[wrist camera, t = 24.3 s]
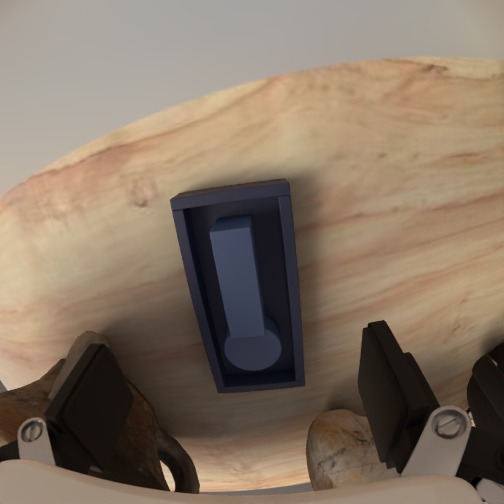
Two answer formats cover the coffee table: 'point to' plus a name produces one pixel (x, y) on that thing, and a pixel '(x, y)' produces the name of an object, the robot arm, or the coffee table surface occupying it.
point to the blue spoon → (243, 295)
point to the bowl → (130, 441)
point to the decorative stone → (343, 452)
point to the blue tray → (270, 267)
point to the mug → (488, 392)
